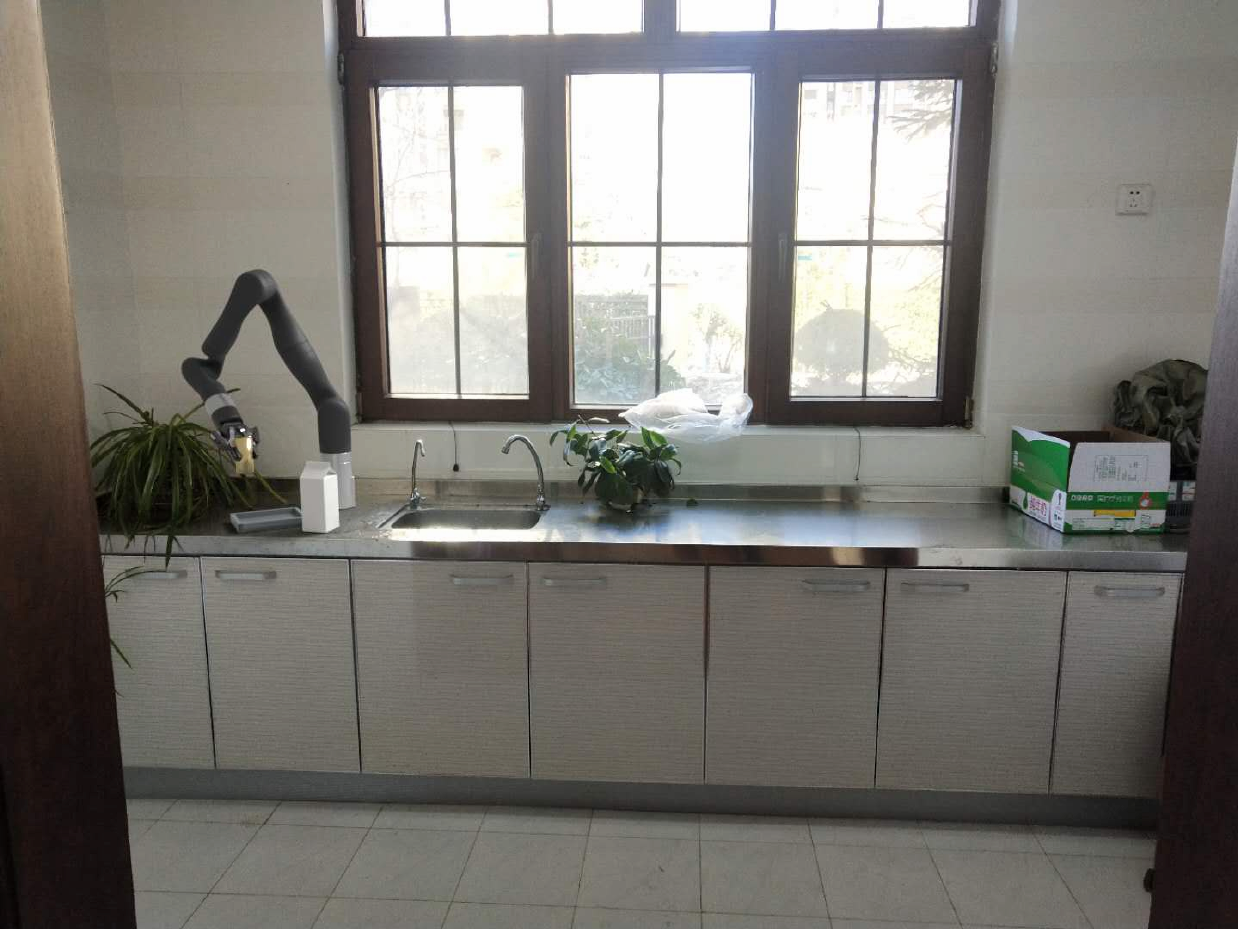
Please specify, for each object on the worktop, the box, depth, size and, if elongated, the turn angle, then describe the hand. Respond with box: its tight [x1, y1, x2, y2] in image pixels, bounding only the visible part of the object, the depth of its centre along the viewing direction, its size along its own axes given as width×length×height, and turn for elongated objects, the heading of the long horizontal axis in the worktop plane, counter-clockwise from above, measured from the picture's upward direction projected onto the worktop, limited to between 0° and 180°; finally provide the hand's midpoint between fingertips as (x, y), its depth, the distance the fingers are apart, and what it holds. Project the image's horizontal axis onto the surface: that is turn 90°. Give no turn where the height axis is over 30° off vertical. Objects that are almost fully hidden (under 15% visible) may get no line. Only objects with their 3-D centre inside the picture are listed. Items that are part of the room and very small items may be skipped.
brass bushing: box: [234, 436, 255, 475], centre depth 242 cm, size 5×5×10 cm
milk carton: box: [299, 460, 340, 534], centre depth 232 cm, size 7×7×19 cm
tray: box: [229, 506, 302, 534], centre depth 238 cm, size 18×14×2 cm
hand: (248, 458), depth 241 cm, fingers closed on brass bushing, 4 cm apart
